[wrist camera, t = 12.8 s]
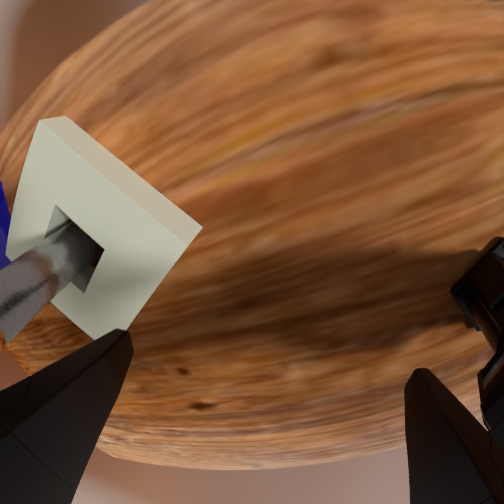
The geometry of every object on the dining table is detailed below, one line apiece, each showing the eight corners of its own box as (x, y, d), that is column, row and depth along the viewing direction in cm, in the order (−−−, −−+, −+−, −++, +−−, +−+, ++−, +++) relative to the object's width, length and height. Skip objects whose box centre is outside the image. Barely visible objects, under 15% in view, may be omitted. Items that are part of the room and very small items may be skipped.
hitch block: (203, 227, 20) (188, 245, 17) (125, 331, 26) (110, 352, 23) (66, 115, 17) (39, 119, 15) (24, 241, 23) (5, 254, 21)
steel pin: (116, 245, 22) (2, 354, 10) (91, 261, 23) (-11, 361, 11) (92, 206, 20) (-38, 295, 9) (69, 226, 22) (-45, 312, 10)
